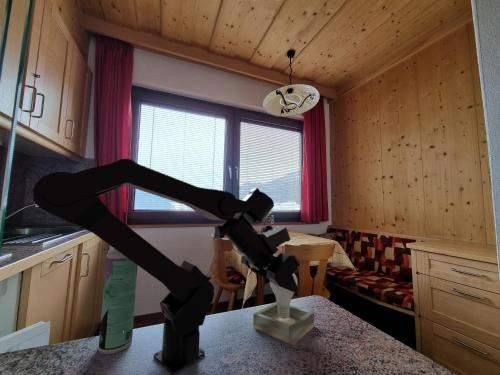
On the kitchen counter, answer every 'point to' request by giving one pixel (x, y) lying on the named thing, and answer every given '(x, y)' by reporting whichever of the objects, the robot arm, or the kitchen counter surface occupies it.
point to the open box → (284, 323)
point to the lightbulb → (283, 298)
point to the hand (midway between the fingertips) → (288, 286)
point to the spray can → (117, 303)
